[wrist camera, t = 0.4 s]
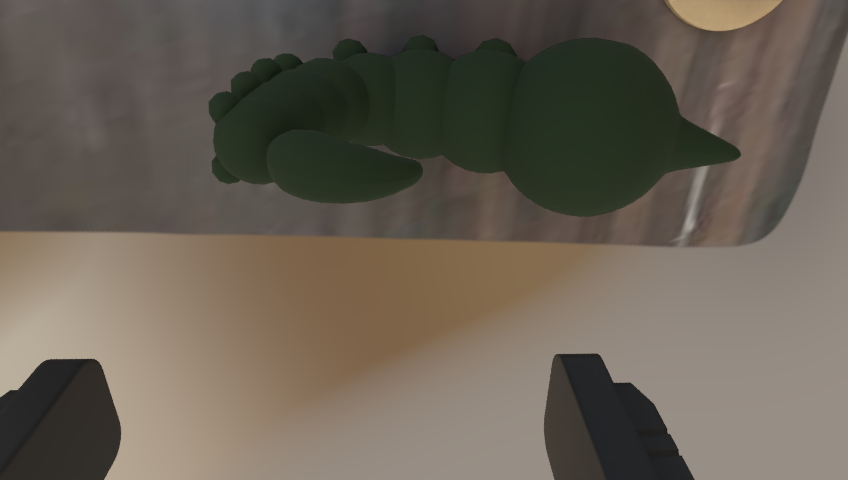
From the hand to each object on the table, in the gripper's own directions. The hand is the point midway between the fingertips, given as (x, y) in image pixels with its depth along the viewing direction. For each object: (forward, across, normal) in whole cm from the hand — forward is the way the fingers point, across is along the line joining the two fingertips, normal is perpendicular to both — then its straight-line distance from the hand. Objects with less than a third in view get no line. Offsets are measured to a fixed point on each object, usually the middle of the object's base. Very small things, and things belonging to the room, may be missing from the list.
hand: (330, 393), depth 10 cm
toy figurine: (+29, -6, +2) cm, 29 cm away
